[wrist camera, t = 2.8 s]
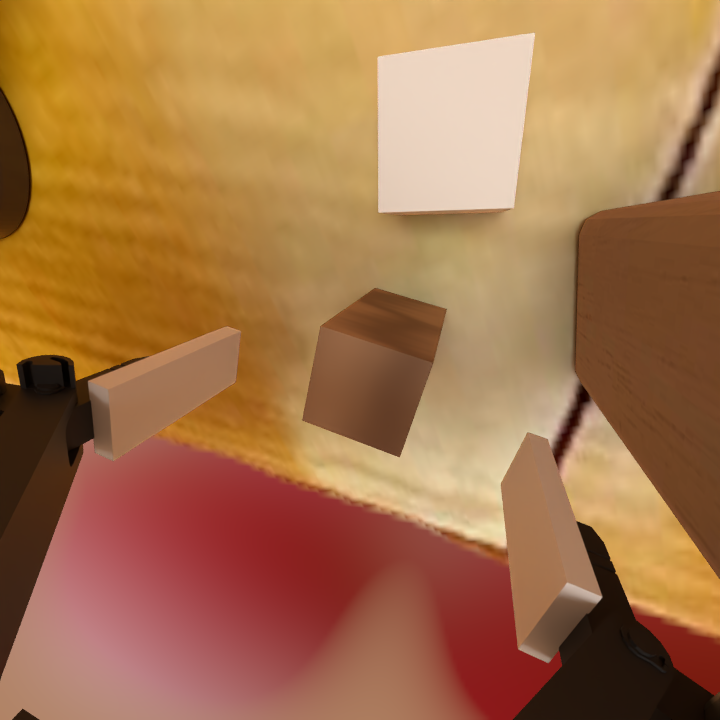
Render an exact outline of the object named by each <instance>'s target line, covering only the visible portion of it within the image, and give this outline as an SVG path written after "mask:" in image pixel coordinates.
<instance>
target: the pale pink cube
mask: <svg viewBox="0 0 720 720" xmlns="http://www.w3.org/2000/svg"><path fill="white" fill-rule="evenodd" d="M534 38H535V33H529V34H522V35H516V36H509V37H503V38H496V39H490V40H483V41H477V42H470V43H464V44H457V45H451V46H444V47H438V48H431V49H425V50H418V51H412V52H405V53H399V54H392V55H386V56H379V57H378V213H385V214H394V215H423V214H455V213H487V212H504V211H507V210H510V209H513V208H514V202H515V194H516V186H517V177H518V169H519V161H520V153H521V145H522V136H523V128H524V120H525V112H526V103H527V95H528V87H529V79H530V71H531V62H532V54H533V46H534Z"/></svg>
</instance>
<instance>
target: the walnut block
mask: <svg viewBox="0 0 720 720" xmlns="http://www.w3.org/2000/svg"><path fill="white" fill-rule="evenodd" d="M446 310H447V309H444V308H440V307H437V306H434V305H430V304H427V303H424V302H420V301H417V300H414V299H410V298H407V297H404V296H400V295H397V294H394V293H390V292H387V291H384V290H380V289H377V288H375V289H373V290H372V291H370V292H369V293H368V294H366V295H365V296H363V297H362V298H360V299H359V300H357V301H356V302H355V303H353V304H352V305H350V306H349V307H347V308H346V309H345V310H343V311H342V312H340V313H339V314H337V315H336V316H334V317H333V318H332V319H330V320H329V321H327V322H326V323H324V324H323V325H322V326H321V327H320V332H319V337H318V342H317V348H316V353H315V358H314V363H313V368H312V373H311V378H310V383H309V388H308V394H307V399H306V404H305V409H304V414H303V419H302V421H305V422H308V423H310V424H313V425H316V426H318V427H321V428H324V429H326V430H329V431H331V432H334V433H337V434H339V435H342V436H345V437H347V438H350V439H353V440H355V441H358V442H361V443H363V444H366V445H368V446H371V447H374V448H376V449H379V450H382V451H384V452H387V453H390V454H392V455H395V456H397V457H400V455H401V452H402V449H403V447H404V444H405V441H406V438H407V435H408V432H409V430H410V427H411V424H412V421H413V418H414V415H415V413H416V410H417V407H418V404H419V401H420V398H421V396H422V393H423V390H424V387H425V384H426V381H427V379H428V376H429V373H430V370H431V367H432V364H433V361H434V357H435V353H436V349H437V345H438V341H439V337H440V333H441V330H442V326H443V322H444V318H445V314H446Z"/></svg>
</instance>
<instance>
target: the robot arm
mask: <svg viewBox="0 0 720 720" xmlns="http://www.w3.org/2000/svg"><path fill="white" fill-rule="evenodd" d="M28 195H29V174H28V165H27V159H26V154H25V149H24V146H23V142H22V138H21V135H20V132H19V129H18V126H17V124H16V121H15V119H14V116H13V114H12V112H11V110H10V108H9V106H8V104H7V102H6V100H5V98H4V96H3V94H2V93H1V91H0V239H1V238H4V237H6V236H8V235H10V234H11V233H12V232H13V231H14V230H15V229H16V228H17V227H18V226H19V224H20V223H21V221H22V219H23V217H24V214H25V211H26V207H27V202H28ZM240 336H241V331H239V330H237V329H234V328H231V327H228V326H226V327H223V328H220V329H218V330H215V331H213V332H210V333H208V334H205V335H203V336H200V337H198V338H195V339H193V340H190V341H188V342H185V343H183V344H180V345H178V346H175V347H172V348H170V349H167V350H165V351H162V352H160V353H157V354H155V355H152V356H148V357H142V358H136V359H132V360H130V361H127V362H124V363H122V364H121V365H117V366H114V367H111V368H110V369H106V370H104V371H101V372H98V373H96V374H93V375H90V376H88V377H85V378H83V379H80V380H77V381H76V379H75V371H74V362H73V361H72V360H71V359H70V358H67V357H64V356H58V355H41V356H36V357H31V358H28V359H25V360H22V361H21V362H19V363H18V364H17V370H18V375H19V380H20V386H19V385H13V384H7V383H6V382H5V377H4V373H3V371H2V370H0V679H1V676H2V673H3V670H4V668H5V665H6V662H7V660H8V657H9V654H10V651H11V649H12V646H13V643H14V641H15V638H16V635H17V632H18V630H19V627H20V624H21V621H22V618H23V616H24V613H25V611H26V608H27V605H28V602H29V600H30V597H31V594H32V592H33V589H34V586H35V583H36V580H37V578H38V575H39V572H40V569H41V567H42V564H43V562H44V559H45V556H46V553H47V551H48V548H49V545H50V542H51V540H52V537H53V534H54V532H55V529H56V526H57V523H58V521H59V518H60V515H61V512H62V510H63V507H64V504H65V502H66V499H67V496H68V493H69V491H70V487H71V485H72V482H73V479H74V477H75V474H76V472H77V469H78V466H79V463H80V461H81V458H82V455H83V444H84V443H86V442H87V441H89V440H91V439H94V449H95V453H97V454H99V455H101V456H103V457H105V458H107V459H110V460H112V461H115V460H116V459H118V458H119V457H121V456H122V455H124V454H125V453H127V452H128V451H130V450H132V449H133V448H135V447H136V446H138V445H139V444H141V443H142V442H144V441H145V440H147V439H149V438H150V437H152V436H153V435H155V434H156V433H158V432H159V431H161V430H163V429H164V428H166V427H167V426H169V425H170V424H172V423H173V422H175V421H176V420H178V419H180V418H181V417H183V416H184V415H186V414H187V413H189V412H190V411H192V410H193V409H195V408H197V407H198V406H200V405H201V404H203V403H204V402H206V401H207V400H209V399H210V398H212V397H214V396H215V395H217V394H218V393H220V392H221V391H223V390H224V389H226V388H228V387H229V386H231V385H232V384H234V383H235V382H236V376H237V366H238V356H239V346H240ZM501 491H502V500H503V510H504V519H505V529H506V538H507V548H508V557H509V567H510V576H511V586H512V594H513V604H514V614H515V624H516V633H517V643H518V649H519V650H521V651H523V652H526V653H528V654H530V655H532V656H534V657H536V658H538V659H541V660H543V661H545V662H547V663H549V662H550V660H551V659H552V658H553V657H554V655H555V654H556V653H557V652H558V651H559V652H560V656H561V662H562V667H561V668H560V669H559V670H558V671H557V672H556V673H555V674H554V675H553V677H552V678H551V679H550V680H549V681H548V682H547V683H546V684H545V685H544V686H543V687H542V689H541V690H540V691H539V692H538V693H537V694H536V695H535V696H534V697H533V698H532V700H531V701H530V702H529V703H528V704H527V705H526V706H525V707H524V708H523V709H522V710H521V711H520V712H519V714H518V715H517V716H516V717H515V718H514V719H513V720H720V692H719V693H718V694H716V695H715V696H714V695H712V694H711V693H710V692H708V691H707V690H705V689H704V688H702V687H701V686H699V685H698V684H697V683H695V682H694V681H692V680H691V679H689V678H688V677H687V676H685V675H684V674H682V673H681V672H679V671H678V670H676V669H675V668H674V667H673V664H672V661H671V658H670V656H669V654H668V653H667V651H666V650H665V648H664V647H663V645H662V644H661V642H660V641H659V640H658V639H657V638H656V637H655V636H654V635H653V634H652V633H651V632H650V631H649V630H648V629H647V628H645V627H644V626H643V625H642V624H640V623H639V622H638V621H636V619H635V617H634V614H633V612H632V610H631V607H630V605H629V602H628V600H627V597H626V595H625V593H624V590H623V588H622V585H621V583H620V580H619V578H618V576H617V574H615V572H616V571H615V568H614V566H613V564H612V561H610V556H609V554H608V551H607V549H606V547H605V544H604V542H603V541H602V540H601V539H600V537H599V536H598V535H597V533H596V532H595V531H594V530H593V528H592V527H590V526H588V525H585V524H582V523H580V522H577V521H576V520H575V517H574V514H573V511H572V508H571V505H570V502H569V499H568V497H567V494H566V491H565V488H564V485H563V482H562V479H561V477H560V474H559V471H558V468H557V465H556V462H555V459H554V456H553V454H552V451H551V448H550V445H549V442H548V439H545V438H543V437H540V436H537V435H534V434H531V433H527V435H526V437H525V438H524V440H523V442H522V444H521V446H520V448H519V450H518V452H517V454H516V456H515V458H514V460H513V461H512V463H511V465H510V467H509V469H508V471H507V473H506V475H505V477H504V479H503V481H502V482H501ZM12 720H39V719H37V718H36V717H34V716H33V715H31V714H30V713H28V712H27V711H25V710H24V709H22V710H21V711H20V712H19V713H18V714H17V715H16V716H15V717H14V718H13V719H12Z"/></svg>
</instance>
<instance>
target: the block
mask: <svg viewBox="0 0 720 720" xmlns="http://www.w3.org/2000/svg"><path fill="white" fill-rule="evenodd" d="M575 372H576V374H577V376H578V378H579V380H580V382H581V383H582V385H583V386H584V388H585V389H586V390H587V392H588V393H589V395H590V396H591V398H592V399H593V400H594V402H595V403H596V405H597V406H598V407H599V409H600V410H601V412H602V413H603V415H604V416H605V417H606V419H607V420H608V422H609V423H610V424H611V426H612V427H613V429H614V430H615V432H616V433H617V434H618V436H619V437H620V439H621V440H622V441H623V443H624V444H625V446H626V447H627V449H628V450H629V451H630V453H631V454H632V456H633V457H634V458H635V460H636V461H637V463H638V464H639V466H640V467H641V468H642V470H643V471H644V473H645V474H646V475H647V477H648V478H649V480H650V481H651V483H652V484H653V485H654V487H655V488H656V490H657V491H658V492H659V494H660V495H661V497H662V498H663V500H664V501H665V502H666V504H667V505H668V507H669V508H670V509H671V511H672V512H673V514H674V515H675V517H676V518H677V519H678V521H679V522H680V524H681V525H682V526H683V528H684V529H685V531H686V532H687V534H688V535H689V536H690V538H691V539H692V541H693V542H694V543H695V545H696V546H697V548H698V549H699V551H700V552H701V553H702V555H703V556H704V558H705V559H706V560H707V562H708V563H709V565H710V566H711V568H712V569H713V570H714V572H715V573H716V575H717V576H718V577H719V579H720V191H717V192H711V193H705V194H699V195H693V196H688V197H682V198H676V199H670V200H664V201H658V202H652V203H646V204H640V205H634V206H628V207H622V208H616V209H610V210H604V211H600V212H599V213H597V214H595V215H593V216H591V217H589V218H587V219H586V220H585V223H584V225H583V227H582V229H581V231H580V234H579V262H578V297H577V333H576V368H575Z"/></svg>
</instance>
